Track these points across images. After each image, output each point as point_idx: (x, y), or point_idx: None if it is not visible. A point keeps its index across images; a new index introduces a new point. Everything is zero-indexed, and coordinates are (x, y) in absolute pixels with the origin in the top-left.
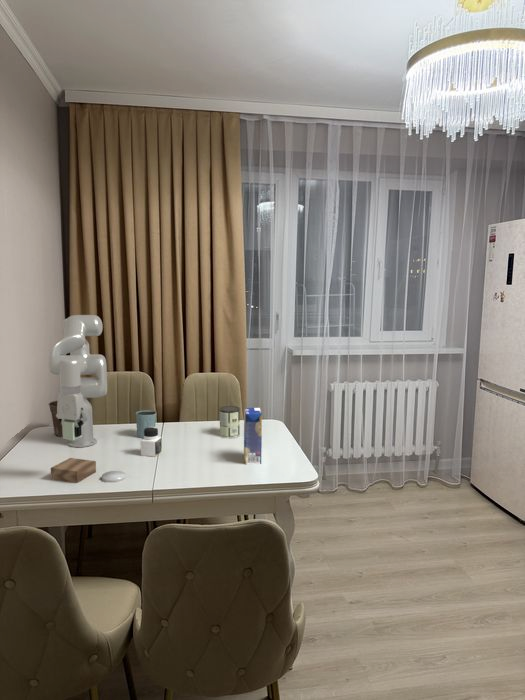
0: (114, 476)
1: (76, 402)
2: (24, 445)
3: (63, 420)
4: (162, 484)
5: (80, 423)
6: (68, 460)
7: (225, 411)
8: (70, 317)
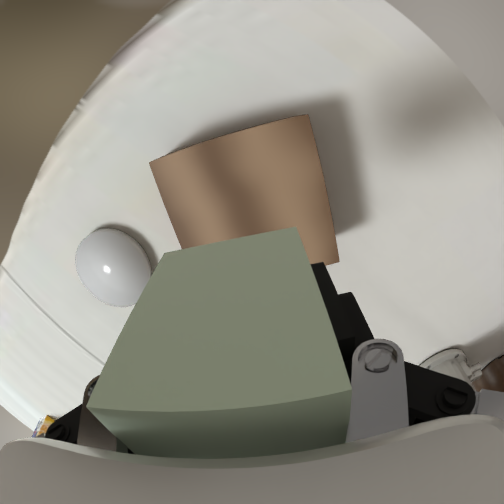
0: (96, 264)
1: None
2: None
3: (368, 418)
4: (15, 298)
5: (68, 421)
6: (319, 234)
7: None
8: None
